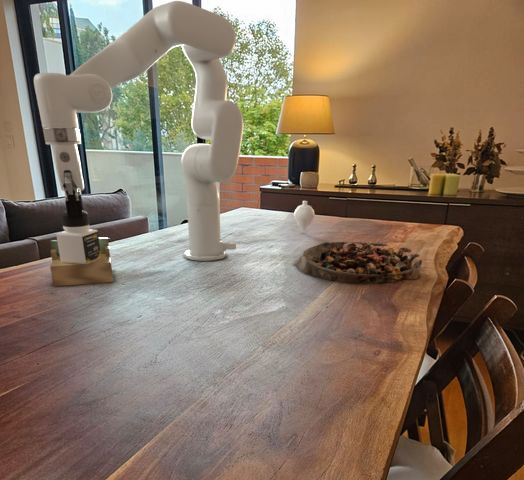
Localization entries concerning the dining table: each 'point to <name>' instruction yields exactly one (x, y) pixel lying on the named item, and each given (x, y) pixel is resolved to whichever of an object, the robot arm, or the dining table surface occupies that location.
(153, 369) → the dining table surface
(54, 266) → the spice rack
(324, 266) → the food dish
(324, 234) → the dining table surface
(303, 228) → the spinning top
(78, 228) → the medicine bottle
